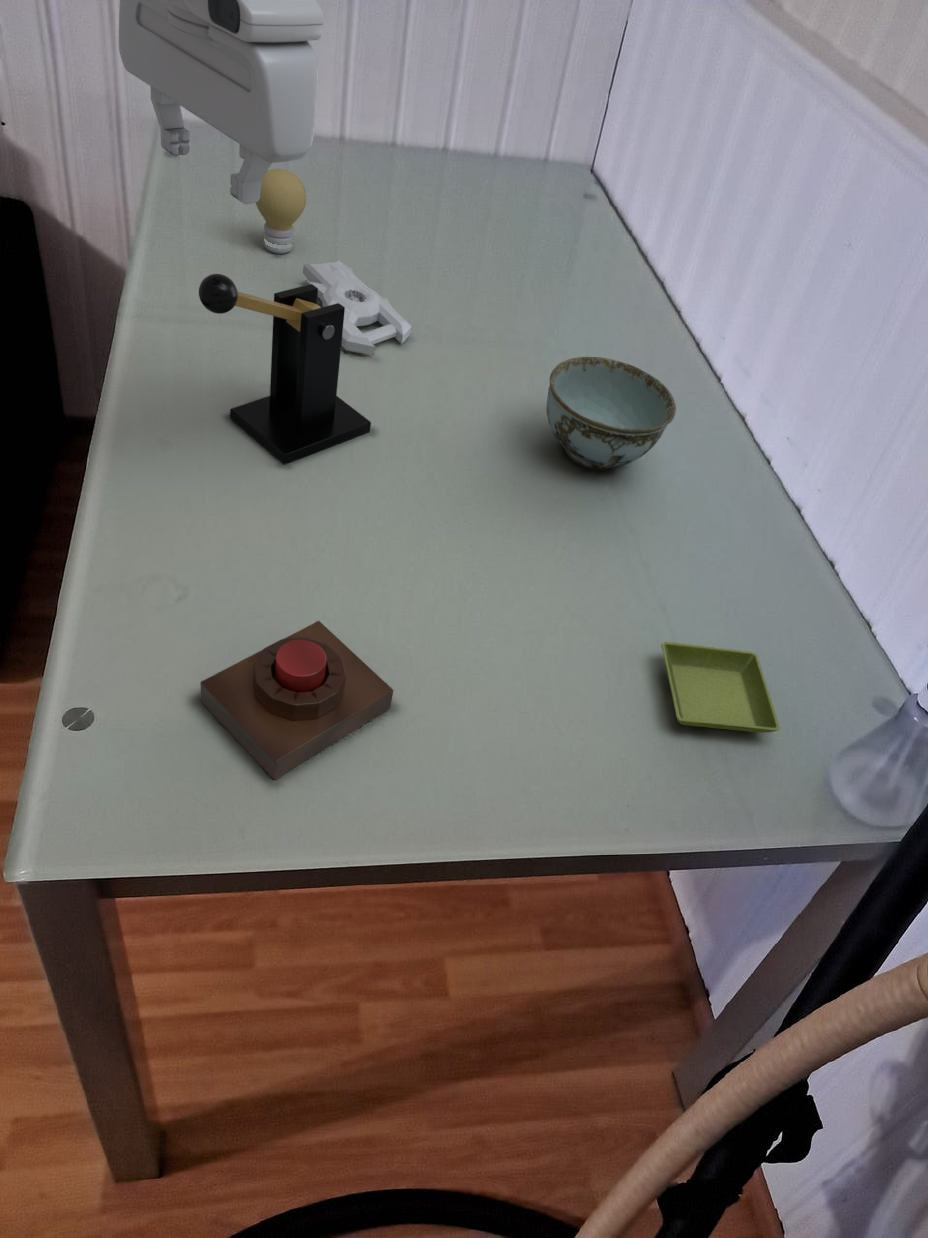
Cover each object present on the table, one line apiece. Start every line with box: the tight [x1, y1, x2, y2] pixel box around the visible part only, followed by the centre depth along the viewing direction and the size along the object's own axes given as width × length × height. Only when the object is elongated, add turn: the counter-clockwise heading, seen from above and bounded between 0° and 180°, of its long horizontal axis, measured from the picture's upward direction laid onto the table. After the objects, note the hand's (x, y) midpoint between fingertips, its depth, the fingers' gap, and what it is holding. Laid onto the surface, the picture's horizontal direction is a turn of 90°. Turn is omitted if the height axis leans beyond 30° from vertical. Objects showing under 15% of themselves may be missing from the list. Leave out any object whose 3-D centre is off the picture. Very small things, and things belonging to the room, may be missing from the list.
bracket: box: [229, 284, 372, 465], centre depth 94 cm, size 11×9×14 cm
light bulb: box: [255, 168, 307, 255], centre depth 122 cm, size 6×6×10 cm
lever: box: [198, 273, 322, 332], centre depth 85 cm, size 14×3×3 cm, turn 134°
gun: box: [302, 259, 412, 356], centre depth 115 cm, size 18×3×10 cm
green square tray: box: [661, 641, 780, 734], centre depth 80 cm, size 9×9×2 cm
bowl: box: [546, 356, 677, 471], centre depth 101 cm, size 14×13×8 cm
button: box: [275, 640, 326, 692], centre depth 70 cm, size 4×4×2 cm
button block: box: [199, 620, 394, 781], centre depth 71 cm, size 11×9×4 cm
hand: (209, 175), depth 76 cm, fingers open, 8 cm apart
